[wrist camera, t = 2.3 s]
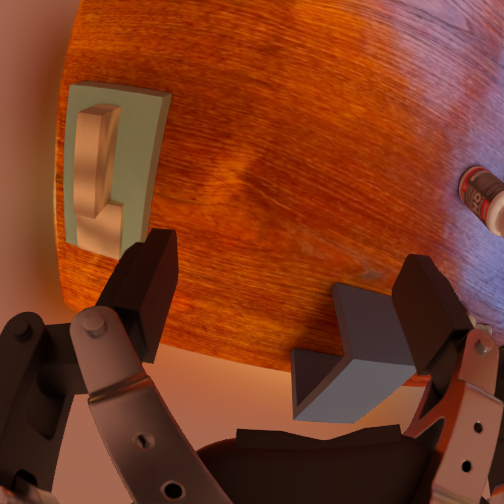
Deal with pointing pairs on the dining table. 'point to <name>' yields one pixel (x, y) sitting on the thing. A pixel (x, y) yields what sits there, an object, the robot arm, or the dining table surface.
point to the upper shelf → (352, 361)
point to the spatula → (97, 181)
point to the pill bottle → (484, 197)
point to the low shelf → (121, 151)
